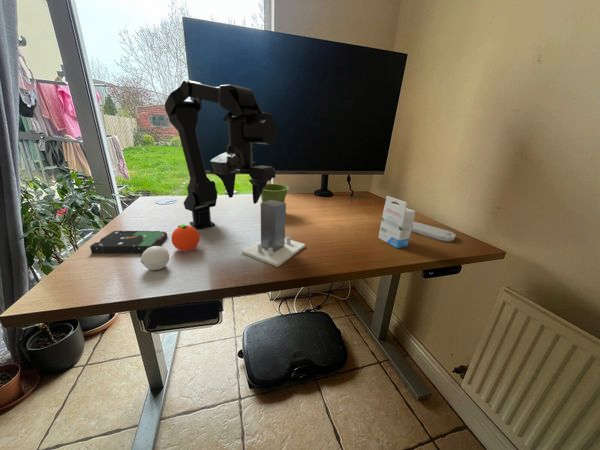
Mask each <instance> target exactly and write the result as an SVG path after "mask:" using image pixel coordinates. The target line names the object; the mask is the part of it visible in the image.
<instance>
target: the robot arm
mask: <svg viewBox="0 0 600 450" xmlns="http://www.w3.org/2000/svg"><path fill="white" fill-rule="evenodd" d="M188 98H193V100H191V99H188ZM202 100H203V101H208V102H212V103H216V104H217V105H218V106H219V107H220V108H222V109H223V110H225V111H227V112H226V114H225V116H223V118H222V122H224V123H227V125H228V145H225V149H224V150H225V151H224V152H223V153H220V154H219V155H217V156H215V157H214V158H213V157H212V159H211V160H210V163H209V171H210V172H212V173H213V175H215V176H216V177H218V178H219V179H220V180H221V182H222V184H223V186H224V188H225V191H226V193H227V196H228V198H229V199H231V198H233V197H234V191H235V183H236V176H237V174H236V173H241V174H246V175H249V176H248V177H250V178H251V179H248V181H249V183H250V184H251V187H252V201H253V202H252V203H253V204H257V203H258V202H259V200H260V198H261V193H262V191H263V189H264V187H265V186H266V184H268V182H270V181H272V179H275V178H276V170H275V168H274V167H273V166H269V165H264V164H263V165H256V162H255V161H253V151H256V146H254V145H253V144H257V145H258V144H259V145H270V146H271V145H273V144H275V143H276V142H277V140H278V137H279V129H278V126H277V123H276V122H275V120H274V119H273V113H269V112H262V110H261V107H260V105H259V104H258V102H257V99H256V98H255V94H254V91H253V90H252V89H251V88H247V87H243V86H239V85H234V84H220V86H214V85H213V86H212V85H208V84H202V82H199V81H194V80H188V79H186V80H182V81H181V84H180V86H179V87H178V88H176V89H175V90H173V91H172V92H170V93H169V94H168V97H167V98H166V100H165V103H164V111H165V112H166V114H167V117H168V120H169V122H170V124H171V125H172V126H173V127H174V129H176V131H177V132H178V135H179V139H180V143H181V146H182V151H183V155H184V160H185V163H186V167H187V170H188V175H189V182H188V185H187V196H186V198H185V199H184V201H183V206H184V208H185V210H188V211H190V212H191V213H192V214H191V215H192V221H189V224H190V226H191V227H193V228H195V229H196V230H199V229H203V228H208V227H209V228H210V227H213V226H216V223H214V222H213V221H212V217H211V208H213V207H216V205H217V199H218V190H217V188H216V186H217V185H216V182H215V181H214V180H211V179H209V177H208V175H207V171H206V169H205V163H204V160H203V156H202V152H201V147H200V143H199V139H198V135H197V131H196V130H197V126H198V123H199V120H200V119H199V113H200V111H201V110H202V108H203V104H202Z"/></svg>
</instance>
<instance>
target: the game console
mask: <svg viewBox="0 0 600 450" xmlns="http://www.w3.org/2000/svg"><path fill="white" fill-rule="evenodd" d="M411 233H414V234H418V235H421V236H424V237H427V238H430V239H431V238H432V239H434V240H437V241H442V242H447V243H448V242H449V243H450V242H453V241H454V240H455V238H456V236H457V235H456V233H454V232H452V231H450V230H447V229H443V228H440V227H436V226H432V225H428V224H425V223H422V222H421V223H420V222H419V221H418V222H417V221H413V225H412V229H411Z"/></svg>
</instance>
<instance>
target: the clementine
mask: <svg viewBox="0 0 600 450" xmlns="http://www.w3.org/2000/svg"><path fill="white" fill-rule="evenodd" d="M200 240H201V238H200V233H199V231H198V229H195V228H194V227H193V226H192V225H189V224H188V225H186V224H180V225H179V224H178V226H177V228H176V229H174V231H172V234H171V244H172V245H173V246H174V248H175V249H177V250H179V251H181V252H189V251H192V250H194V249H195V248H196V247H197V246H198V245H199V242H200Z"/></svg>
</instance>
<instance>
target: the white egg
mask: <svg viewBox="0 0 600 450" xmlns="http://www.w3.org/2000/svg"><path fill="white" fill-rule="evenodd" d="M140 259H141V260H140V262H141V263H142V265H143V266H144V267H145V268H146V269H148V270H151V271H158V270H161V269H163V268H165V267H166V265H168V263H169V261H170V254H169V252H168V250H167V249H166V248H164V247H162V246H161V245H160V246H152V247H150V248H148V249H146V250H145V251H144V252H143V254H141V257H140Z"/></svg>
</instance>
